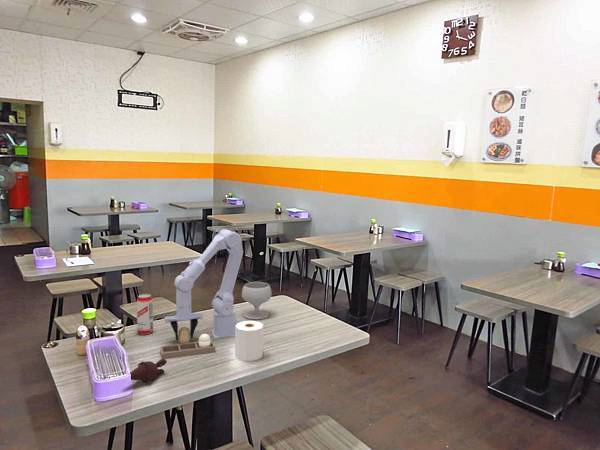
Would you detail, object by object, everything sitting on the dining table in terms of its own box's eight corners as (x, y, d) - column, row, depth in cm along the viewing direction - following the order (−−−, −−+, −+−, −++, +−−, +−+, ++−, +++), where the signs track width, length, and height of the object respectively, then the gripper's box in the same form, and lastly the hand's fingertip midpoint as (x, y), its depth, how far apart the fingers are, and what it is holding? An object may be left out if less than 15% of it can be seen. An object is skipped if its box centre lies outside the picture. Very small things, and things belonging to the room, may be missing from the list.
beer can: (148, 336, 180) (147, 298, 178) (134, 334, 181) (133, 297, 179) (156, 330, 186) (155, 294, 184) (142, 329, 187) (141, 293, 185)
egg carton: (212, 345, 172) (212, 339, 172) (215, 353, 165) (215, 347, 165) (160, 352, 165) (159, 346, 164) (161, 360, 158) (161, 354, 158)
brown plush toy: (131, 375, 134) (173, 363, 145) (119, 362, 138) (161, 351, 150) (127, 394, 135) (169, 381, 147) (115, 381, 140) (157, 369, 151)
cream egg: (209, 346, 170) (209, 331, 169) (211, 351, 166) (211, 335, 165) (197, 348, 168) (197, 332, 168) (199, 352, 164) (199, 336, 164)
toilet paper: (266, 352, 168) (266, 321, 166) (258, 363, 158) (258, 331, 156) (240, 349, 170) (241, 319, 168) (231, 360, 160) (231, 328, 158)
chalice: (276, 313, 211) (277, 283, 209) (261, 322, 199) (262, 290, 197) (251, 309, 217) (251, 279, 215) (235, 317, 204) (236, 286, 202)
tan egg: (189, 339, 178) (189, 324, 177) (190, 343, 174) (190, 328, 173) (178, 340, 176) (177, 325, 175) (179, 344, 172) (179, 329, 171)
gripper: (200, 300, 179) (201, 332, 181) (163, 303, 174) (164, 336, 176) (203, 305, 173) (203, 338, 175) (165, 309, 168) (166, 343, 169)
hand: (184, 338), depth 175 cm, fingers open, 5 cm apart
